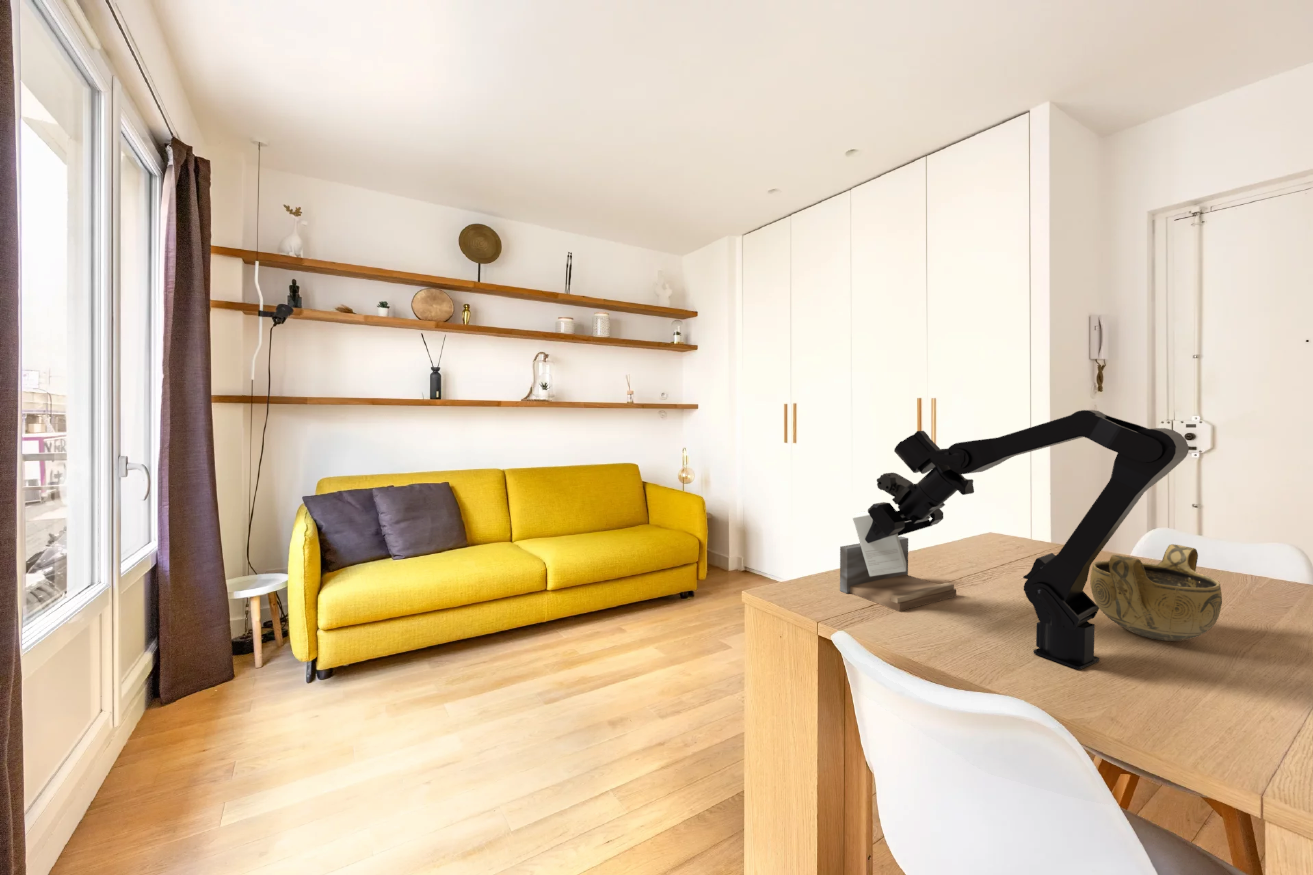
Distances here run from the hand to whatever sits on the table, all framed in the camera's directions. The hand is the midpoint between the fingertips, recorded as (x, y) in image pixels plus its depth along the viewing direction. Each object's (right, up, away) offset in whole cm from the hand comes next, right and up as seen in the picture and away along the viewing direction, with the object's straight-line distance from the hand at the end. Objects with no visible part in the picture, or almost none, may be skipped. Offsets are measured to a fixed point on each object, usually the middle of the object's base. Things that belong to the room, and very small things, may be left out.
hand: (880, 537), depth 111 cm
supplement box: (+1, -7, -1) cm, 7 cm away
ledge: (+6, -13, +4) cm, 15 cm away
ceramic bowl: (+41, -14, -18) cm, 46 cm away
